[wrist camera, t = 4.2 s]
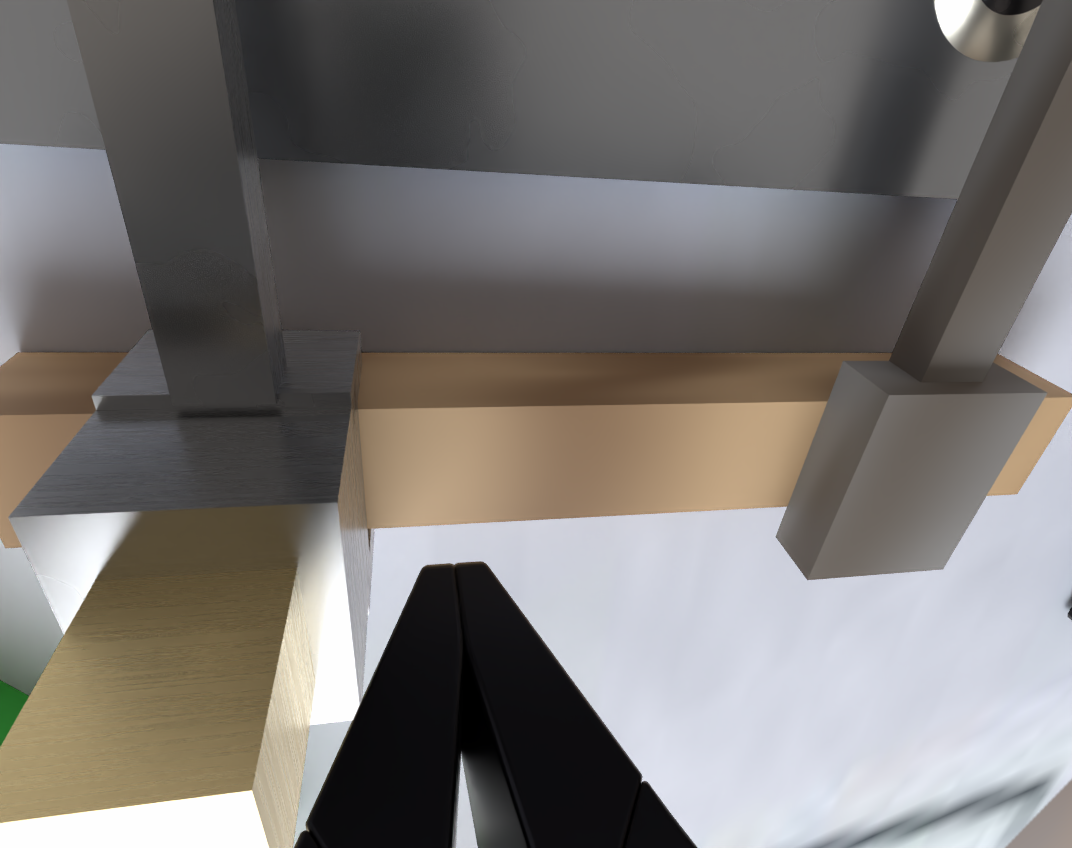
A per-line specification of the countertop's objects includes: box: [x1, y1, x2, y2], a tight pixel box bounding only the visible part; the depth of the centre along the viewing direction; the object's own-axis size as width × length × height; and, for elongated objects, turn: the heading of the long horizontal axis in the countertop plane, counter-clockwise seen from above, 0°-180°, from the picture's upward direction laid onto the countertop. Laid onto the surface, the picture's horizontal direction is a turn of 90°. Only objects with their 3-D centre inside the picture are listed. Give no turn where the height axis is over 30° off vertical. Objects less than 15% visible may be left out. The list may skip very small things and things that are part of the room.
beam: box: [0, 0, 1072, 580], centre depth 9 cm, size 19×10×3 cm, turn 84°
